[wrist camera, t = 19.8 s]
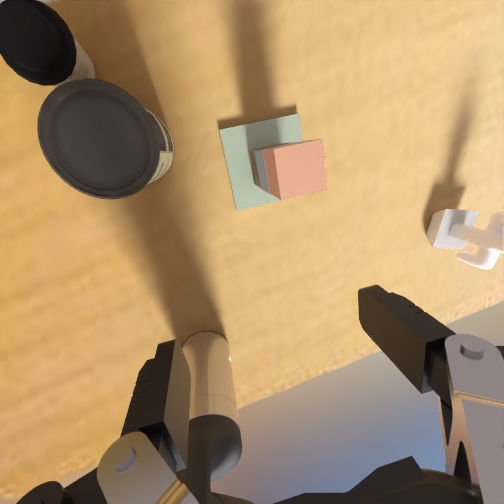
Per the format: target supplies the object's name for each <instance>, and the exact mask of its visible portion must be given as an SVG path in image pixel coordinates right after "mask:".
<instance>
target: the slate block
mask: <svg viewBox="0 0 504 504" xmlns="http://www.w3.org/2000/svg"><path fill="white" fill-rule="evenodd" d="M294 143H297V142H294ZM288 144H293V143H288ZM288 144H283V145H288ZM283 145H279V146H283ZM274 147H278V146H274ZM270 148H273V147H270ZM265 149H268V148H265ZM263 150H264V149H261V150H257V151H254V154H255V159H256V164H257V170H258V175H259V180H260V186H261V189H262V190H264V191H265V192H267V193H269V186H268V180H267V174H266V168H265V161H264V155H263ZM269 194H270V193H269Z"/></svg>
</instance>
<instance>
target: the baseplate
mask: <svg viewBox="0 0 504 504" xmlns="http://www.w3.org/2000/svg"><path fill="white" fill-rule="evenodd" d="M219 133H220V137H221V142H222V146H223V151H224V155H225V160H226V165H227V169H228V174H229V178H230V183H231V187H232V192H233V196H234V201H235V205H236V210H237V211H238V210H243V209H247V208H251V207H255V206H260V205H264V204H268V203H273V202H277V201H281V200H280V199H278V198H277V197H275V196H273V195H272V194H269V193H267V192H265V191H264V190H262V189H261V188H260V187H258V186H256V185H255V184H254V181H253V175H252V170H251V165H250V159H249V154H248V150H252V149H257V148H262V147H266V146H271V145H276V144H281V143H289V142H290V143H294V142H302V135H301V126H300V117H299V114H294V115H289V116H284V117H279V118H274V119H269V120H265V121H260V122H255V123H250V124H245V125H240V126H235V127H230V128H225V129H220V130H219ZM306 195H307V194H306ZM297 197H298V196H297ZM293 198H294V197H293ZM289 199H290V198H289ZM284 200H285V199H284Z"/></svg>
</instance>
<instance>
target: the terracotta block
mask: <svg viewBox="0 0 504 504" xmlns="http://www.w3.org/2000/svg"><path fill="white" fill-rule="evenodd" d="M263 155H264V161H265V168H266V174H267V180H268V186H269V193H270V194H272V195H273V196H275V197H277V198H278V199H280V200H284V199H289V198H293V197H297V196H302V195H306V194H311V193H315V192H319V191H324V190H326V176H325V163H324V150H323V139H318V140H309V141H302V142H297V143H293V144H288V145H283V146H278V147H273V148H268V149H264V150H263Z"/></svg>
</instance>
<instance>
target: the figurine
mask: <svg viewBox="0 0 504 504" xmlns="http://www.w3.org/2000/svg"><path fill="white" fill-rule="evenodd" d="M479 212H480V211H467V210H454V209H444V210H441V211H438V212H435V213H433V215H432V218H431V221H430V224H429V227H428V230H427V233H426V236H427V238H428V240H429V242H430V244H431V246H432V248H448V249H465V247H466V244H467V242H471V243H474V244H477V245H478V246H479V247H478V250H477V252H476V254H475V255H474V254H471V253H468V252H460V253H458V254H457V258H458V259H459V260H461V261H463V262H466V263H468V264H471V265H473V266H475V267H478V268H482V269H490V268H492V267H493V266H494V264H495V262H496V260H497V258H498V256H499V253H500V252H501V253H504V212H496V213H494V214H493V215H492V216H491V218H490V221H489V223H488V226H487V228H486V230H481V229H478V228H474V224H475V222H476V219H477V217H478V214H479Z"/></svg>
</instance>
